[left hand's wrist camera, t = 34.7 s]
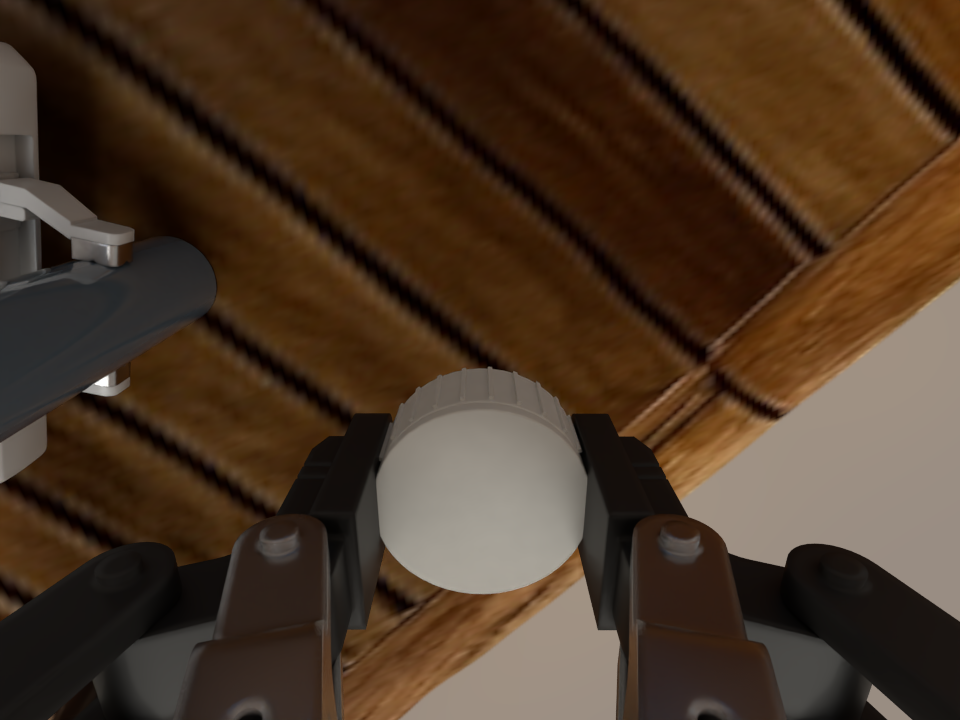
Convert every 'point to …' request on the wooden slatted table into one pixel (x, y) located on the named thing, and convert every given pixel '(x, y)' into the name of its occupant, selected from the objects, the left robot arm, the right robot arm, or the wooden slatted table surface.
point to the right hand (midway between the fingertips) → (125, 314)
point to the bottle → (92, 322)
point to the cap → (481, 483)
